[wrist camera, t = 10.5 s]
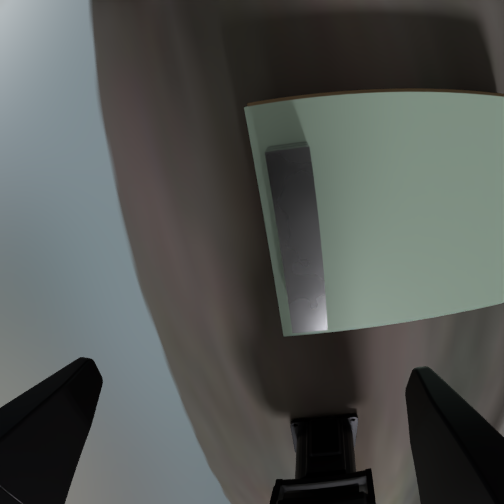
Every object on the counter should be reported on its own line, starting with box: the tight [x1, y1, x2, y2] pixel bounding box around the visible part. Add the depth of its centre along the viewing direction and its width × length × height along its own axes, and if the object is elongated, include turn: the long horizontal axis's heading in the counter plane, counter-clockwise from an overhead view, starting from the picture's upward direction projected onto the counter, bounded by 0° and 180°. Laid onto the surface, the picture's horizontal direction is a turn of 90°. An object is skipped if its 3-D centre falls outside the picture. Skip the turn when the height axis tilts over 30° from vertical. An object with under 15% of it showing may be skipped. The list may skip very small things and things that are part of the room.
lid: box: [244, 92, 504, 337], centre depth 13 cm, size 12×16×3 cm
